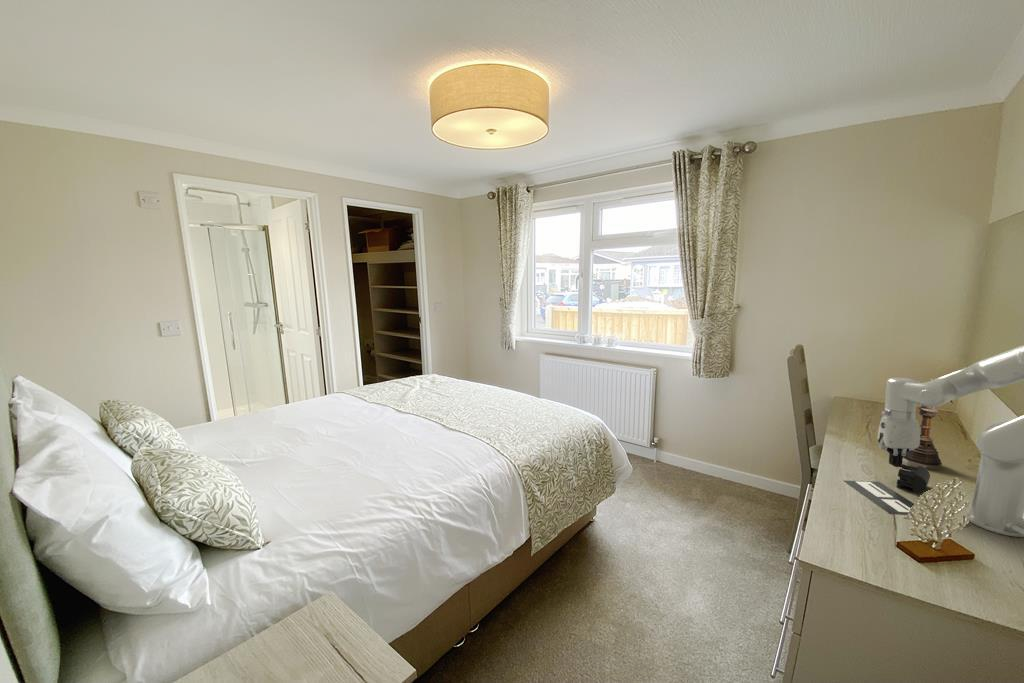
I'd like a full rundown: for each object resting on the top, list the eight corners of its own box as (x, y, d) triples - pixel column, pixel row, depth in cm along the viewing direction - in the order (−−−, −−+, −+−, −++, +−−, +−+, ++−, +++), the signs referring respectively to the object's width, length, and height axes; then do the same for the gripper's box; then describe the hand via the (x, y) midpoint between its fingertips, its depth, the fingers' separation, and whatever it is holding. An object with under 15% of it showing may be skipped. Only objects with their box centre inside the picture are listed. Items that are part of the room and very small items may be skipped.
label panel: (932, 515, 121) (932, 515, 121) (889, 513, 122) (889, 513, 122) (879, 482, 140) (879, 481, 140) (843, 480, 142) (843, 480, 142)
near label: (916, 513, 122) (916, 512, 122) (899, 512, 123) (899, 511, 123) (897, 500, 129) (897, 499, 129) (880, 499, 130) (880, 499, 130)
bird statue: (899, 449, 166) (911, 369, 160) (944, 460, 156) (959, 375, 150) (890, 460, 156) (903, 376, 150) (938, 473, 146) (954, 382, 140)
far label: (893, 497, 130) (893, 497, 130) (877, 497, 131) (877, 496, 131) (869, 482, 140) (870, 481, 140) (854, 481, 141) (854, 481, 141)
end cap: (924, 496, 131) (928, 478, 130) (895, 488, 136) (898, 470, 135) (928, 486, 137) (931, 468, 136) (900, 478, 143) (903, 461, 141)
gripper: (884, 417, 129) (880, 470, 132) (934, 417, 128) (929, 470, 130) (866, 411, 137) (863, 460, 139) (913, 410, 135) (909, 461, 137)
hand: (895, 465), depth 135 cm, fingers closed
